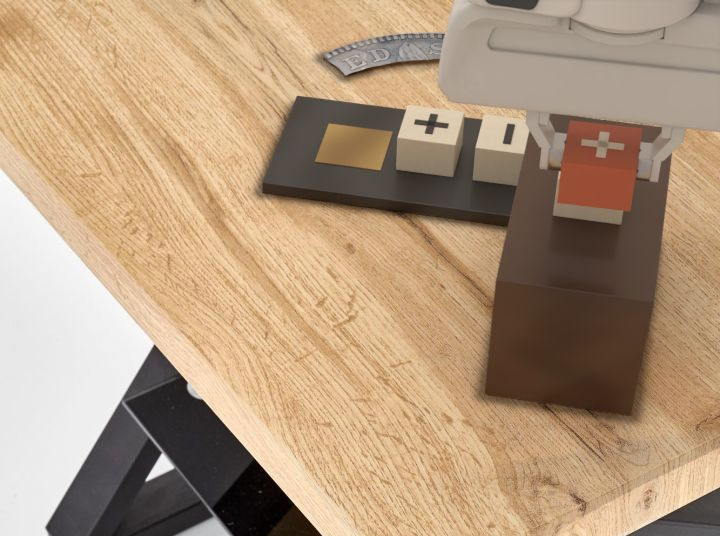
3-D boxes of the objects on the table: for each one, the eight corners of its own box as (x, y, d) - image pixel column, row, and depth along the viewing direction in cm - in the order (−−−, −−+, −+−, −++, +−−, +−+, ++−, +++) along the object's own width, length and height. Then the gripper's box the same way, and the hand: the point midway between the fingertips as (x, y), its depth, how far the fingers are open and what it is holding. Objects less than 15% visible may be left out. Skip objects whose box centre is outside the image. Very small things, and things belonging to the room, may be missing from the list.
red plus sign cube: (636, 168, 99) (642, 127, 97) (630, 212, 96) (636, 170, 94) (565, 160, 100) (570, 118, 98) (557, 203, 97) (561, 161, 95)
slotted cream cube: (626, 184, 106) (633, 145, 104) (621, 225, 103) (627, 186, 101) (560, 175, 107) (565, 137, 104) (552, 216, 104) (557, 177, 102)
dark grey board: (589, 143, 126) (590, 132, 125) (572, 235, 118) (574, 223, 118) (296, 105, 129) (296, 94, 128) (262, 193, 121) (261, 181, 121)
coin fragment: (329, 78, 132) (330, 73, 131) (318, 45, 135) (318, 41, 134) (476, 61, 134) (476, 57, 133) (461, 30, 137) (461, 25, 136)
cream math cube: (462, 144, 124) (464, 110, 122) (453, 177, 121) (455, 144, 119) (406, 136, 125) (407, 103, 122) (395, 170, 122) (397, 136, 120)
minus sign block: (538, 153, 123) (542, 120, 121) (530, 188, 121) (534, 154, 118) (481, 146, 124) (484, 113, 122) (472, 180, 121) (475, 146, 119)
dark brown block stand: (653, 242, 118) (675, 128, 111) (631, 416, 106) (654, 301, 98) (520, 224, 119) (533, 110, 112) (484, 394, 107) (495, 279, 99)
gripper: (818, -49, 88) (770, 159, 98) (455, -84, 90) (446, 122, 101) (817, 11, 84) (767, 221, 94) (436, -27, 86) (429, 181, 97)
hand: (598, 170), depth 97 cm, fingers closed on red plus sign cube, 4 cm apart
